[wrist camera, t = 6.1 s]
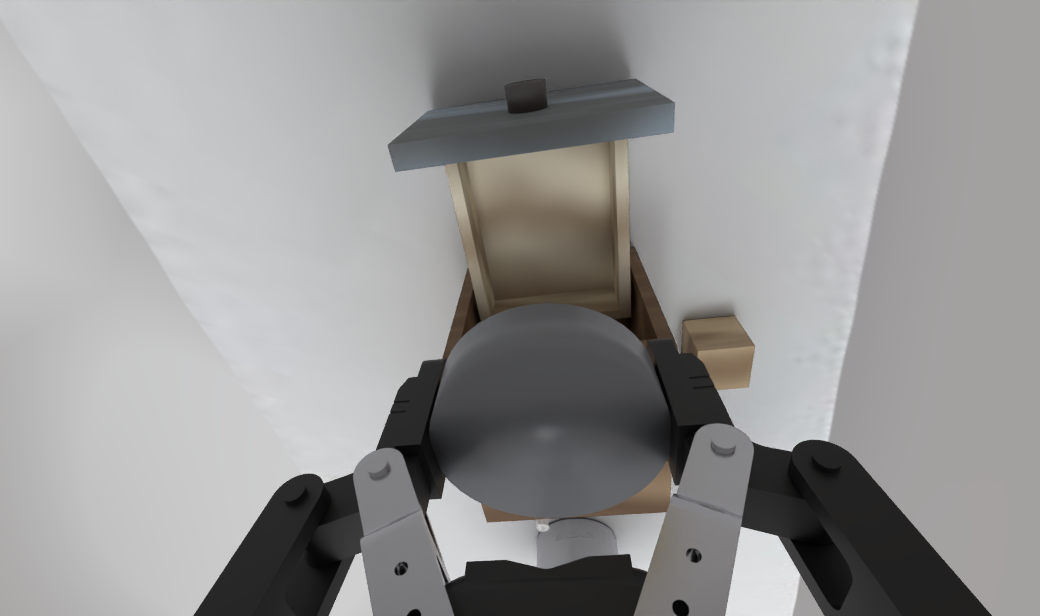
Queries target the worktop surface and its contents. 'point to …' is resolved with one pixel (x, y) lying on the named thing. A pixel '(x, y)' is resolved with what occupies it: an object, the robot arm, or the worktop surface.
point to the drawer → (542, 189)
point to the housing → (645, 326)
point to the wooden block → (720, 349)
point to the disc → (550, 413)
